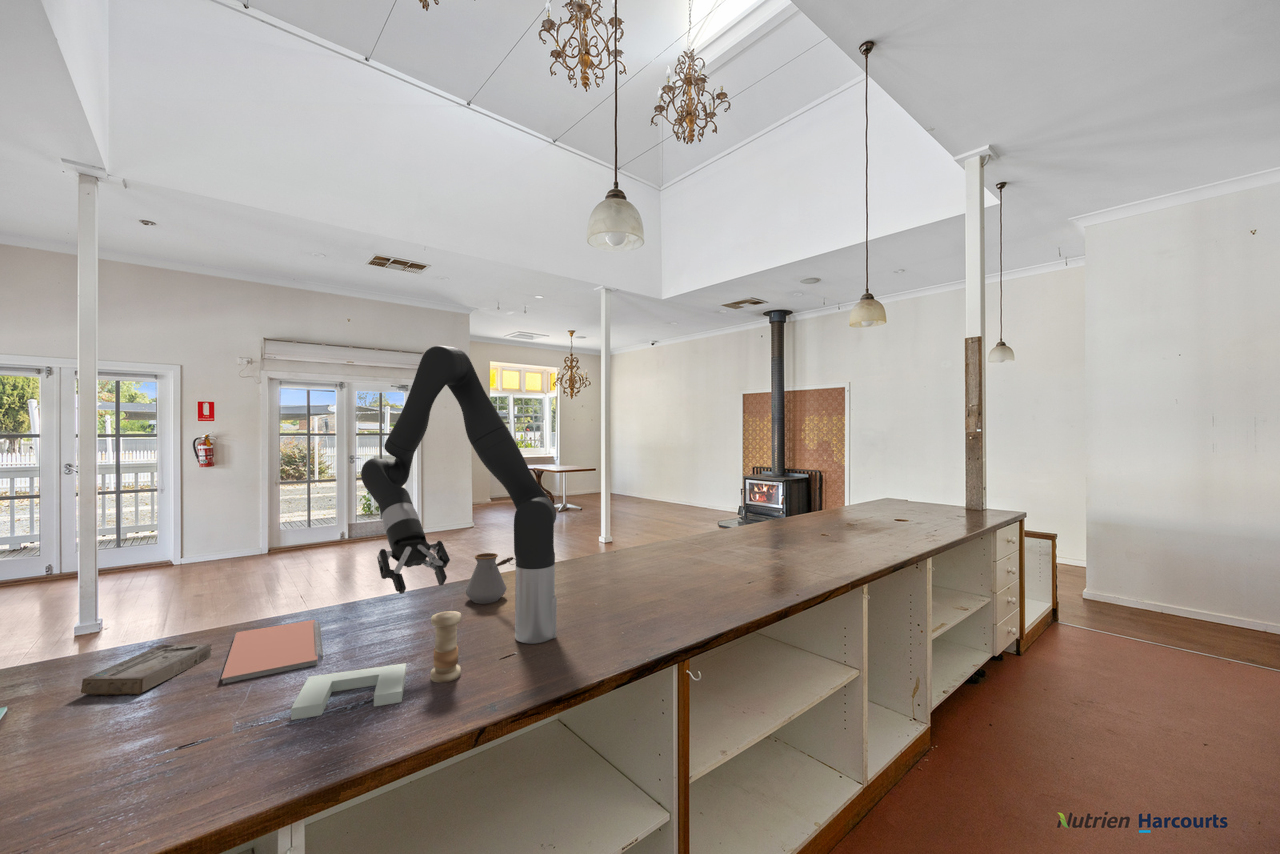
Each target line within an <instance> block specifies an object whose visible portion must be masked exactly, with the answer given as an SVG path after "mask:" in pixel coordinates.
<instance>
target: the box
mask: <svg viewBox="0 0 1280 854" xmlns="http://www.w3.org/2000/svg"><path fill="white" fill-rule="evenodd" d="M212 650H213V649H212V643H211V644H204V643H203V644H202V643H200V644H198V643H197V644H164V643H162V644H158V646H157V645H156V646H155V647H152V648H150V649H148V650H146V651H143V652H141V653H139V654H136V655H135V656H131V657H130V658H128V659H125V660H123V661H120V662H119V663H116V664H114V665H112V666H109V667H108V668H107V667H106V668H104V669H101V670H100V671H98V672H96V673H94V674H92V675H89V676H87V677H84V678H82V683H81V688H80V694H84V695H85V694H86V695H91V696H97V695H100V696H101V695H102V696H103V695H104V696H105V697H108V695H115V696H119V695H123V696H124V695H130V696H132V695H137V696H140V695H141V694H142V693H144V692H147V691H148V690H151V689H152V688H154V687H156V686H157V685H159V684H161V683H164V682H166V681H167V680H169V679H171V678H174V677H175V676H177V675H179V674H180V673H182V672H184V671H187V670H189V669H191V668H192V667H195V666H197V665H198V664H200V663H202V662H203V661H205V660H207V659H209V658H211V656H212V655H211V654H212V652H211V651H212Z"/></svg>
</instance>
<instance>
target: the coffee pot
mask: <svg viewBox="0 0 1280 854" xmlns="http://www.w3.org/2000/svg"><path fill="white" fill-rule="evenodd" d="M498 557H499V555H498V554H497V553H494V552H483V553H478V554H476V555H475V556H474V559H475V560H476V566H475V567H474V571H473V573H472V575H471V577H470V579H469V581H468V584H467V586H466V589H465V594H466V596H467V597H468V598H469V600H471V601H472V602H473V603H475V604H481V605H483V604H484V605H485V604H492V603H495V602H498V601H499V600H500V598H501V597H503V596H504V595H505V594H506V591H507V586H506V583H505V581H504V579H503V577H502V573H501V572H500V569H499V567H500V566H504V565H506V564H507V563H508V564H509V565H510V566H511V565H512V566H514V565H515V563H512V564H511V561H513V560H515V561H516V558H515V557H512V556H511V557H510V556H509V557H507V558H505V559H503V560H501V561H499V562H498V563H497V562H496V561H497V558H498Z"/></svg>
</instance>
